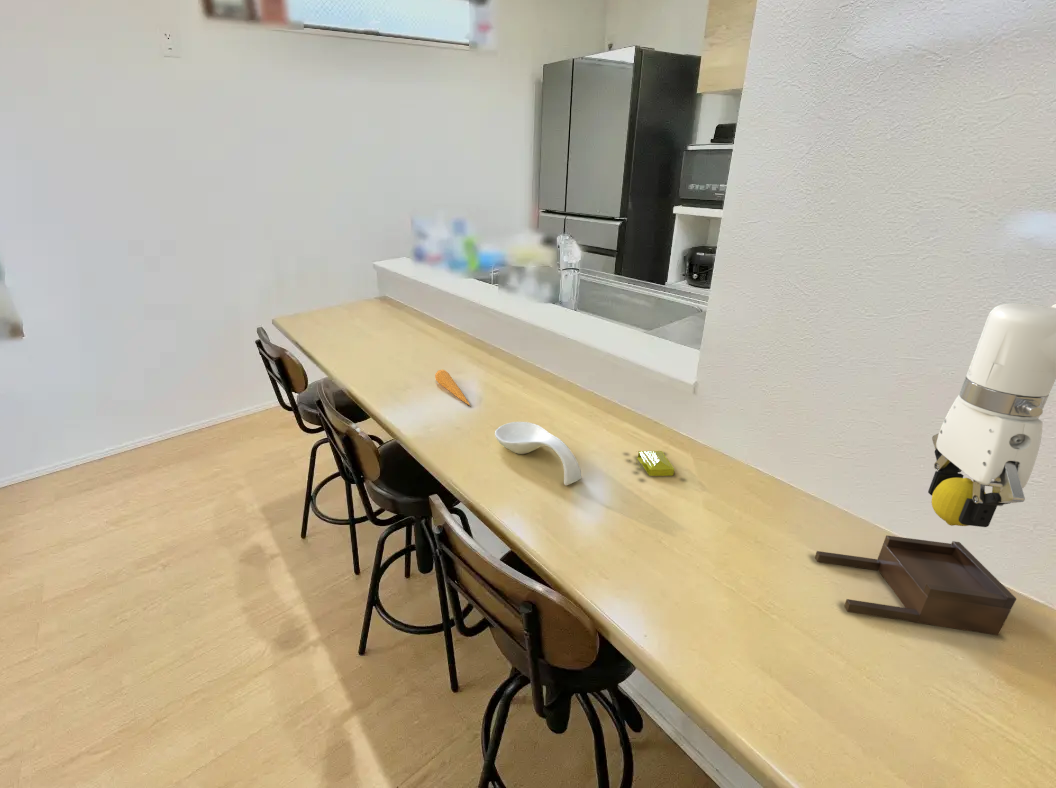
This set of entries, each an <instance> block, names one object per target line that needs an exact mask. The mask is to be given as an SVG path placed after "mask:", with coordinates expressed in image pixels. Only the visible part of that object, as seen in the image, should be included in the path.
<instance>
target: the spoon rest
mask: <svg viewBox="0 0 1056 788" xmlns="http://www.w3.org/2000/svg"><path fill="white" fill-rule="evenodd" d="M494 437H495V439H496V441H497V442H498V443H499V444H500V446H502V447H504V448H505V449H506V450H509V451H511V452H512V453H515V454H518V455H525V454H530V453H531V452H533V451H535V450H537V449H539V448H541V447H542V446H545V447H548V448H550V449H551V450H553V452H554V453H556V455H557V456H558V458H559V459H560V461H561V464H562V468H563V484H564V486H569V485H571V484H573V483H576V482H578V481H579V480H581V479H582V470H581V466H580V464H579V462H578V460H577V458H576V456H575V454H574V453H573V452H572V450H571V449H570V448H569V446H568V445H567V444H566V443H565V442H563V441H562V439H560V438H559V437H557V436H556V435H554V434H552V433H550V432H549V431H548V430H546V429H545V428H544V427H542V426H541V425H538V424H537V423H533V422H529V421H512V422H508V423H505V424H502V425H500V426H498V428H496V429H495V431H494Z"/></svg>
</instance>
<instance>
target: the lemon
mask: <svg viewBox="0 0 1056 788" xmlns="http://www.w3.org/2000/svg"><path fill="white" fill-rule="evenodd" d="M972 493H973V479H972V478H969V477H963V478H949V479H946V480H944V481H942V482H941V483H940V484H939V485H938V486H937V487H936V488H935V490H934V492H933V494H932V495H931V507H932V509H933V511H934V513H935V514H936V515H937V516H938V517H939V518H940V519H941V520H943V521H944V522H945V523H946V524H947V525H948V526H951V527H954V526H957V527H958V526H959V527H969V526H970V525H963V524H961V523H960V522H959V517H960V514H961V512H962V509H963V507H964V504H965V502H966V500H967V498H970V499H972ZM985 494H987V493H986V492H985Z"/></svg>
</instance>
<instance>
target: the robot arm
mask: <svg viewBox="0 0 1056 788" xmlns="http://www.w3.org/2000/svg"><path fill="white" fill-rule="evenodd" d="M1055 382H1056V303H1053V305H1051V306H1049V305H1043V304H1042V305H1041V304H1035V303H1025V302H1024V303H1023V302H1008V303H1001V304H998V305H996V306H995V307H993V308H992V309H991V310H990V312H989V313H988V315H987V317H986V320H985V323H984V325H983V328H982V331H981V334H980V338H979V339H978V342H977V344H976V348H975V351H974V354H973V357H972V359H971V361H970V364H969V367H968V370H967V373H966V376H965V377H964V380H963V383H962V386H961V389H960V390H959V394H958V395H957V396H956V398H955V399H954V401H953V403H952V404H951V406H950V408H949V410H948V412H947V414H946V416H945V418H944V419H943V422H942V424H941V426H940V429H939V432H938V433H936V434H934V435H932V437H931V439H932V443H933V446H934V449H935V450H934V455H935V460H936V461H935V462H934V464H933V468H934V469H935V471H934V474H933V476H932V477H933V478H932V479H931V482H930V485H929V487H928V492H927V493H928V494H929V495H930V496H932V494H933V492H934V490H935V488H936V487H937V486H938V485H939V484H940V483H941V482H942V481H944V480H946V479H949V478H964V475H963V474H962V473H961V472H963V473H964V474H966V475H967V476H968V477H970V479H971V480H972V481H973V493H972V499H970V498H967V500H966V502H965V504H964V507H963V509H962V512H961V514H960V517H959V522H960V523H961V524H963V525H970V526H971V527H980V528H987V527H988V528H989V526H990V523H991V522H992V519H993V517H994V514H995V512H996V510H997V507H1003V506H1004V505H1009V504H1016V503H1023V502H1025V500H1026V497H1025V494H1024V490H1023V489H1024V488H1025V487H1026V485H1027V484H1028V482H1029V480H1030V478H1031V475H1032V472H1033V470H1034V466H1035V463H1036V461H1037V458H1038V454H1039V451H1040V447H1041V442H1042V434H1043V421H1042V420H1041V419H1039V418H1040V416H1042V415H1043V413H1044V408H1045V405H1046V403H1047V401H1048V398H1049V396H1050V394H1051V390H1052V389H1053V387H1054V384H1055ZM986 487H992V488H991V492H988V493H986ZM985 493H986V494H985Z"/></svg>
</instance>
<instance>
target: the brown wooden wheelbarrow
mask: <svg viewBox="0 0 1056 788" xmlns="http://www.w3.org/2000/svg"><path fill="white" fill-rule="evenodd" d="M814 559H815V561H816V562H817V563H823V564H829V565H838V566H842V567H843V566H844V567H851V568H859V569H866V570H873V571H878V573H880V575H881V577H882V578H883V579H884V580H885V582H886V583H887V584H888V586H889V587H890V588H891V590H892V592H894V594H895V595H896V596H897V598H898V599H899V601H900V602H901V603H902V605H903V606H904V607H902V606H901V607H900V606H895V605H890V604H889V605H888V604H881V603H876V602H870V601H863V600H856V599H849V598H846V600H845V602H844V605H843V606H844V608H845V610H846V612H848V613H855V614H859V615H860V614H861V615H866V616H873V617H879V618H885V619H890V620H891V619H892V620H897V621H906V622H910V623H916V624H917V623H918V624H923V625H929V626H936V627H941V628H944V627H945V628H949V629H955V630H961V631H962V630H963V631H966V632H967V631H969V632H975V633H979V634H987V635H992V636H993V635H995V636H999V635H1000V633H1001V631H1002V630H1003V626H1004V625H1005V622H1006V621H1007V619H1008V617H1009V615H1010V613H1011V611H1012V609H1013V607H1014V605H1015V602H1016V600H1017V597H1016V596H1015V595H1014V594H1013V593H1012V592H1010V590H1009V589H1007V587H1006V586H1004V584H1002V583H1001V582H1000V580H999V579H998V578H997V577H995V576H994V575H993V573H992V572H991V571H990V570H988V569H987V568H986V567H985V565H983V563H982V562H981V561H979V560H978V558H976V557H975V556H974V555H973V554H972V553H971V552H970V551H969V550H968V548H966V546H964V545H963V544H962V543H961V542H960V541H955V540H952V541H951V543H950V542H949V543H948V542H943V541H942V542H940V541H933V540H926V539H917V538H910V537H904V536H903V537H902V536H895V535H885V538H884V540H883V543H882V545H881V548H880V551H879V554H878V557H877V558H870V557H863V556H858V555H857V556H856V555H849V554H842V553H841V554H840V553H836V552H828V551H820V550H816V552H815V556H814Z"/></svg>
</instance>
